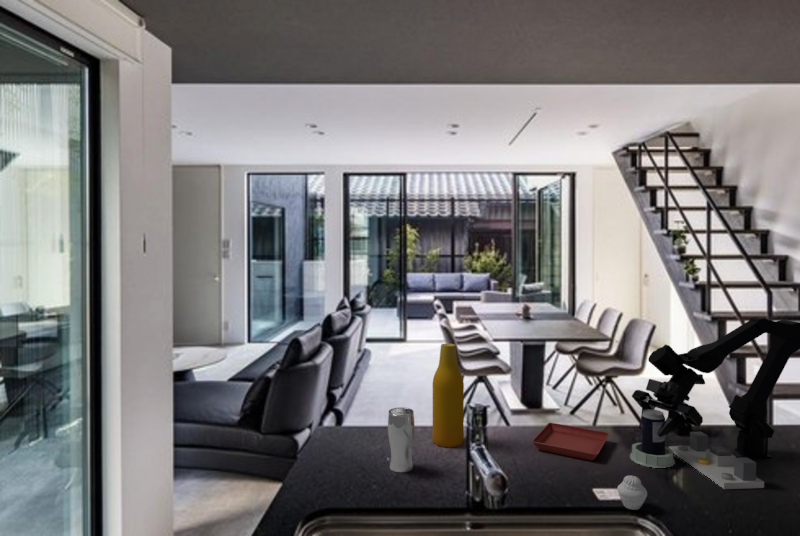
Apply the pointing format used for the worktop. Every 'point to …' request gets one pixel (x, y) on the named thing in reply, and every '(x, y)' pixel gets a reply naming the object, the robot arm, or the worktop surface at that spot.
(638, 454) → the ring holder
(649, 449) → the beverage can
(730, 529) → the worktop surface
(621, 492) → the lidded jar
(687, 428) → the battery
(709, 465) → the switch panel
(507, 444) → the worktop surface
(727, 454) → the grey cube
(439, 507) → the worktop surface
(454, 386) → the beer bottle
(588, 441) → the plant saucer
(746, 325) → the robot arm
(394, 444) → the beer glass
